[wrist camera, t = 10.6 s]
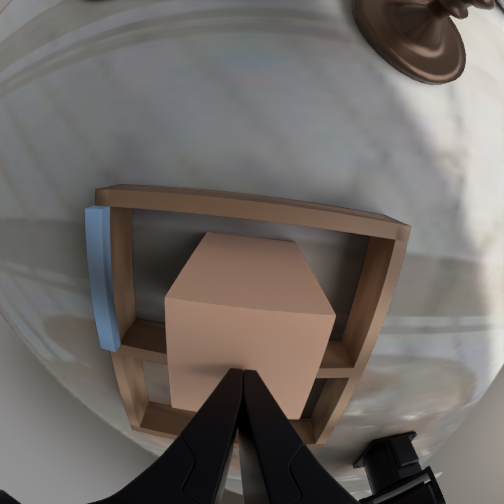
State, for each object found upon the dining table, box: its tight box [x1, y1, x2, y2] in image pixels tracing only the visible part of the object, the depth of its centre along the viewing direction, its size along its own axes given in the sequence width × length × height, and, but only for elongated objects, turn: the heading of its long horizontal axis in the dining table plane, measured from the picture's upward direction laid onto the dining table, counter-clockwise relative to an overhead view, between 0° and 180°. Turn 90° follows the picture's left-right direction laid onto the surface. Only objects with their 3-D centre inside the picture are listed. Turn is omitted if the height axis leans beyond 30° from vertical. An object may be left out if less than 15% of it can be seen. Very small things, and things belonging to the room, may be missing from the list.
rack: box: [85, 184, 411, 449], centre depth 15 cm, size 18×16×4 cm
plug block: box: [165, 232, 336, 419], centre depth 12 cm, size 5×5×8 cm
